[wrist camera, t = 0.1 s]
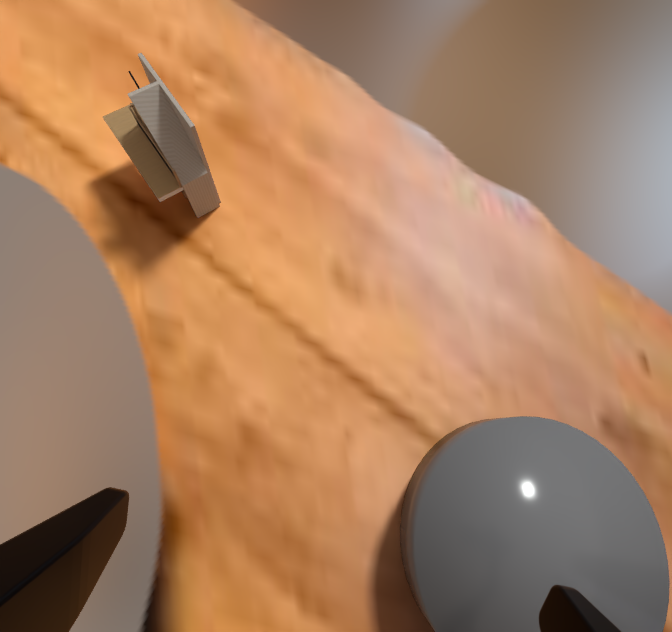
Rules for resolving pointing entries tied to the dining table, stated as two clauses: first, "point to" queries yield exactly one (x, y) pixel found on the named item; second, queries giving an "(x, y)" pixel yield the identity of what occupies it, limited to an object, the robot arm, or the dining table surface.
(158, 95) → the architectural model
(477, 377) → the dining table surface
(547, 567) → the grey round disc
